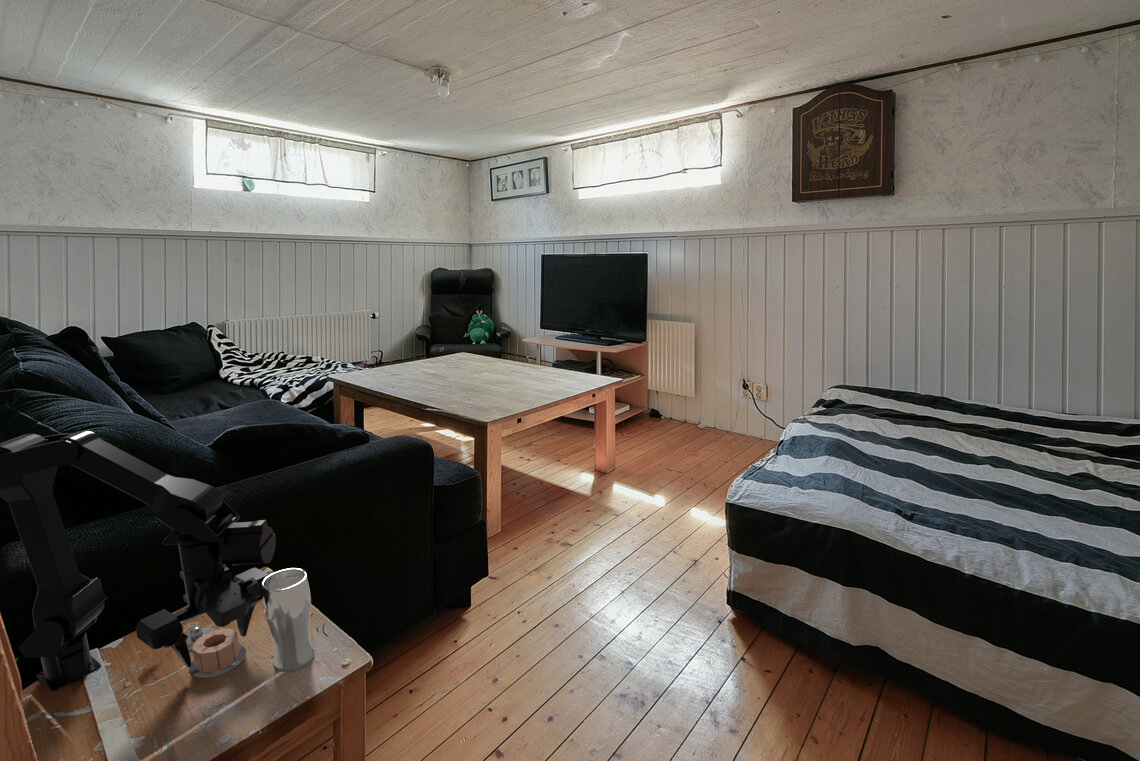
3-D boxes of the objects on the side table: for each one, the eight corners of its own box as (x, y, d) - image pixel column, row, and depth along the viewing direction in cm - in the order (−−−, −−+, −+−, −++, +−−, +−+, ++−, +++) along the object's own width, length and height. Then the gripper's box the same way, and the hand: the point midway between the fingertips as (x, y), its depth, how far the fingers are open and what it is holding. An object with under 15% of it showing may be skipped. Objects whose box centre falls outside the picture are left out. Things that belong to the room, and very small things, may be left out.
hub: (180, 668, 94) (177, 652, 93) (230, 640, 100) (228, 625, 100) (206, 686, 89) (203, 670, 89) (256, 656, 96) (254, 641, 95)
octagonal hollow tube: (208, 677, 91) (205, 657, 90) (189, 663, 94) (186, 644, 93) (246, 655, 96) (243, 636, 95) (226, 642, 99) (223, 624, 98)
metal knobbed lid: (170, 644, 99) (168, 631, 99) (206, 625, 104) (204, 613, 104) (187, 656, 96) (185, 644, 96) (224, 636, 101) (222, 624, 101)
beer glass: (299, 677, 91) (289, 593, 88) (261, 671, 93) (249, 588, 90) (325, 648, 98) (317, 569, 95) (289, 643, 99) (280, 565, 96)
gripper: (162, 611, 79) (179, 707, 82) (288, 552, 95) (298, 635, 98) (126, 587, 85) (143, 678, 88) (250, 535, 100) (261, 614, 104)
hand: (216, 650), depth 94 cm, fingers open, 8 cm apart
